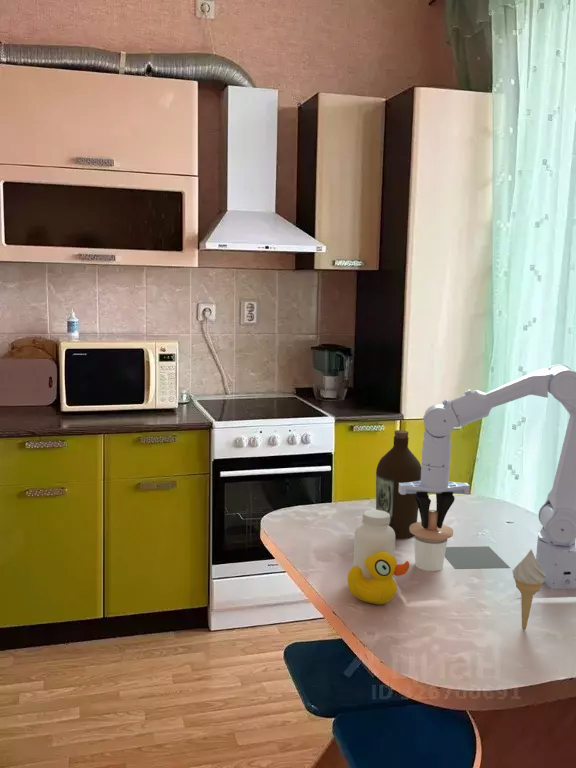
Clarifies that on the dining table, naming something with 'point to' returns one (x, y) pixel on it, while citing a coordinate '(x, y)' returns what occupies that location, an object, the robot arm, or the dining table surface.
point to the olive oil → (389, 474)
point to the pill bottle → (372, 538)
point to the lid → (431, 528)
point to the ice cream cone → (528, 583)
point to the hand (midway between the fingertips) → (431, 526)
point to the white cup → (429, 553)
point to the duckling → (376, 578)
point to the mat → (474, 558)
